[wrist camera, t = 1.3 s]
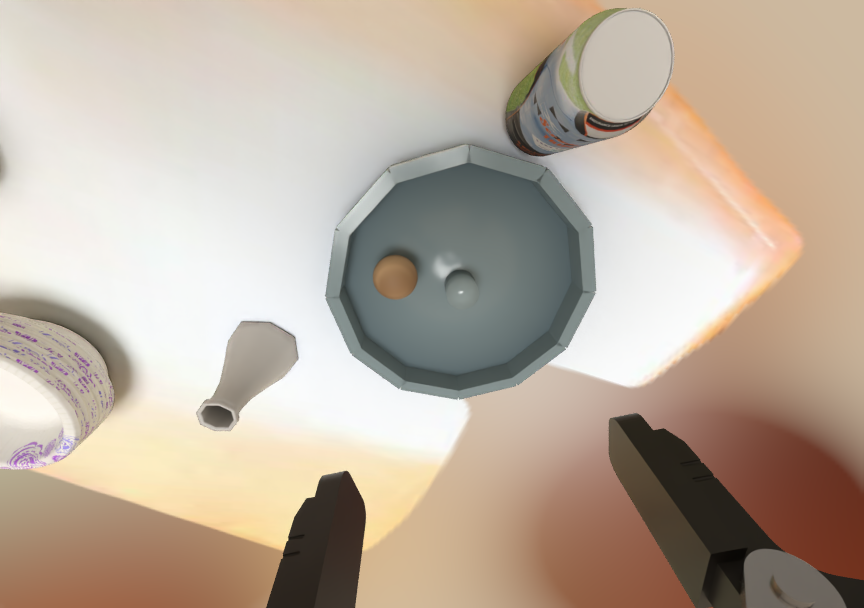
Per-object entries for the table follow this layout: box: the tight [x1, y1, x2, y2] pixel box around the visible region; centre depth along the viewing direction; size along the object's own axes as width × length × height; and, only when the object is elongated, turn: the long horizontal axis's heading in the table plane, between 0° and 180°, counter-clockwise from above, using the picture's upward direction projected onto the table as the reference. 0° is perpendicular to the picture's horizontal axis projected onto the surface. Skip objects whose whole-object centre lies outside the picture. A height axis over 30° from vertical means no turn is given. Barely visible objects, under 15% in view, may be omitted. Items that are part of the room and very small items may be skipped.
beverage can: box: [506, 8, 674, 156], centre depth 22 cm, size 6×7×12 cm
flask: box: [196, 322, 298, 431], centre depth 32 cm, size 7×7×10 cm
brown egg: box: [373, 255, 418, 300], centre depth 31 cm, size 4×4×4 cm
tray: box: [325, 144, 596, 400], centre depth 33 cm, size 24×24×4 cm
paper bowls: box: [0, 312, 114, 469], centre depth 33 cm, size 15×15×8 cm
